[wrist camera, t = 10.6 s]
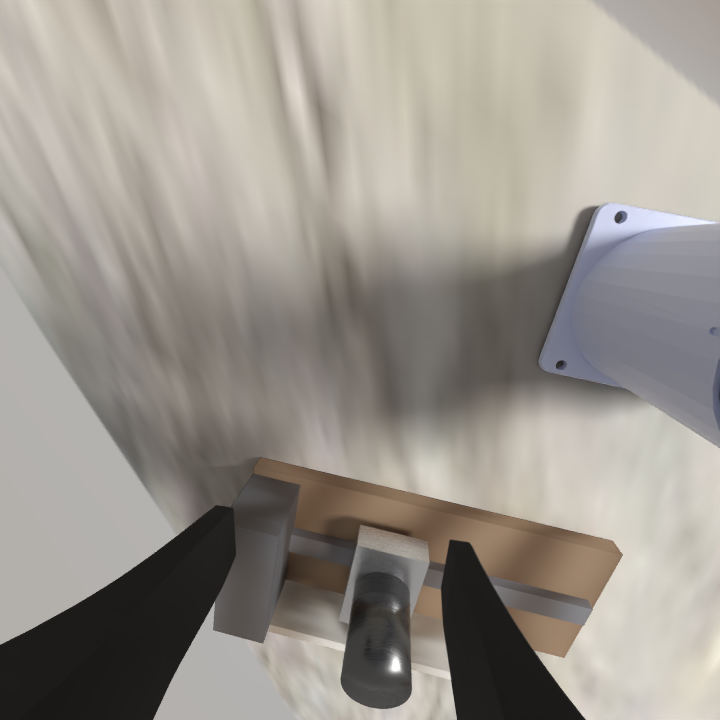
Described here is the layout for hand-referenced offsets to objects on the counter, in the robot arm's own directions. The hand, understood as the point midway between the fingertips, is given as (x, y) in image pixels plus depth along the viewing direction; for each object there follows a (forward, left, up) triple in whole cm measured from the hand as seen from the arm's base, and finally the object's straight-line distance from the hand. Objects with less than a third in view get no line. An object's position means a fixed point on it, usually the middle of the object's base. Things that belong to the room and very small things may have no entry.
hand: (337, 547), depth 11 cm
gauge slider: (-3, +10, -8) cm, 13 cm away
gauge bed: (-5, +9, -9) cm, 14 cm away
